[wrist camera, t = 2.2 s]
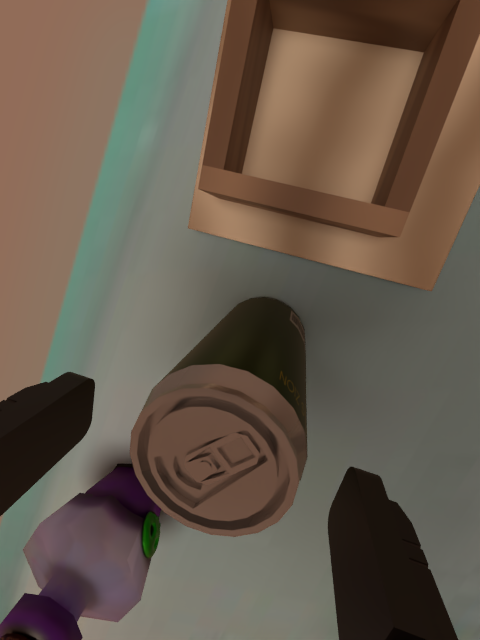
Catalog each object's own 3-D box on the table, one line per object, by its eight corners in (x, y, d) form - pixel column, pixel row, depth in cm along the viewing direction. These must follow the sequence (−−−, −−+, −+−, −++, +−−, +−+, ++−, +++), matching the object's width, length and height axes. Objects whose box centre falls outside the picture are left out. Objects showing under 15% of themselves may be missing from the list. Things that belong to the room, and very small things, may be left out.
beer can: (275, 278, 18) (232, 342, 7) (321, 348, 19) (347, 510, 8) (209, 322, 20) (88, 429, 9) (253, 385, 21) (192, 561, 9)
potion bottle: (202, 514, 25) (117, 745, 14) (128, 538, 28) (7, 748, 16) (144, 432, 24) (1, 608, 12) (74, 465, 26) (-97, 636, 15)
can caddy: (548, 3, 13) (676, -120, 8) (423, 287, 17) (465, 305, 12) (243, -38, 15) (217, -157, 10) (194, 228, 19) (161, 225, 14)
